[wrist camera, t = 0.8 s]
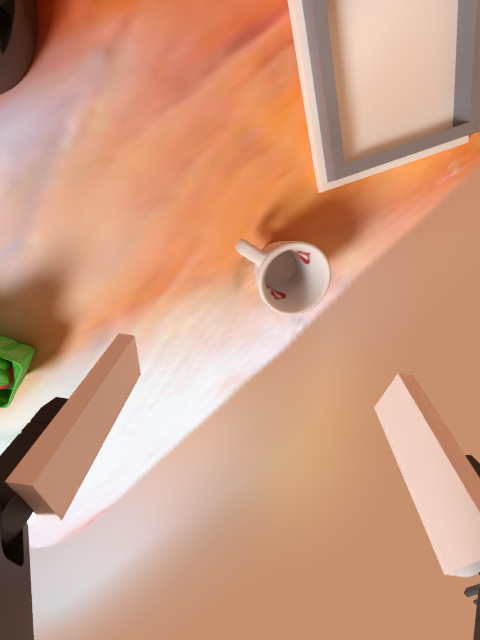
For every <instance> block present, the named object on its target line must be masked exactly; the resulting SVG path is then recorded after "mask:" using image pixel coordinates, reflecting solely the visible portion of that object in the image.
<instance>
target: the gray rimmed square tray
mask: <svg viewBox="0 0 480 640" xmlns="http://www.w3.org/2000/svg"><path fill="white" fill-rule="evenodd" d="M288 6H289V12H290V19H291V25H292V31H293V38H294V44H295V50H296V57H297V63H298V69H299V76H300V82H301V88H302V95H303V101H304V107H305V114H306V120H307V126H308V132H309V139H310V145H311V151H312V158H313V164H314V170H315V177H316V183H317V189H318V193H320V192H324V191H327V190H330V189H333V188H336V187H339V186H342V185H345V184H348V183H350V182H353V181H356V180H359V179H362V178H365V177H368V176H371V175H374V174H377V173H380V172H383V171H386V170H388V169H391V168H394V167H397V166H400V165H403V164H406V163H409V162H412V161H415V160H418V159H421V158H424V157H427V156H429V155H432V154H435V153H438V152H441V151H444V150H447V149H450V148H453V147H456V146H459V145H462V144H465V143H467V142H468V140H469V135H470V134H473V133H476V132H479V129H480V0H288Z"/></svg>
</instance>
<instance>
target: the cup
mask: <svg viewBox="0 0 480 640" xmlns="http://www.w3.org/2000/svg"><path fill="white" fill-rule="evenodd" d="M236 250H237V251H238V252H239V253H240V254H242V255H243V256H245V257H246V258H248V259H249V260H251V261H252V262H254V263H255V264H254V275H255V279H256V283H257V286H258V290H259V293H260V295H261V298H262V299H263V301H264V302H265V304H266V305H267V306H268V307H270V308H271V309H272V310H274V311H276V312H278V313H281V314H285V315H296V314H301V313H304V312H306V311H308V310H310V309H312V308H313V307H315V306H316V305H317V304H318V303H319V302H320V301H321V300H322V299H323V297H324V296H325V294H326V292H327V290H328V288H329V285H330V281H331V267H330V263H329V261H328V259H327V257H326V255H325V254H324V253H323V251H322V250H321V249H319V248H318V247H317V246H315V245H313V244H311V243H308V242H304V241H278V242H274V243H271V244H269V245H267V246H266V247H265V248H263V249H262V250H260V249H258V248H257V247H255V246H254V245H252V244H250V243H249V242H247V241H246V240H244V239H240V240H239V241H238V243H237V245H236Z"/></svg>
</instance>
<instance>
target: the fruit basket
mask: <svg viewBox="0 0 480 640" xmlns="http://www.w3.org/2000/svg"><path fill="white" fill-rule="evenodd" d="M34 352H35V348H34V347H31V346H29V345H26V344H22V343H19V342H17V341H16V340H13V339H11V338H8V337H5V336H1V335H0V408H6V407H8V406H9V405H10V403H11V402H12V400H13V398H14V395H15V393H16V391H17V389H18V388H19V386H20V384H21V383H22V381H23V379H24V378H25V376H26V373H27V372H26V371H27V370H28V368H29V366H30V363H31V361H32V358H33V357H32V355H33V354H34Z"/></svg>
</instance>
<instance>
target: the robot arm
mask: <svg viewBox="0 0 480 640" xmlns="http://www.w3.org/2000/svg"><path fill="white" fill-rule="evenodd" d="M36 36H37V15H36V6H35V0H0V94H2V93H4V92H6V91H7V90H9V89H10V88H12V87H13V86H14V85H15V84H16V83H17V82H18V81H19V80H20V79H21V78H22V77H23V75H24V74H25V72H26V70H27V69H28V67H29V65H30V62H31V60H32V57H33V53H34V49H35V44H36ZM140 374H141V373H140V367H139V361H138V354H137V348H136V342H135V336H133V335H126V334H118V336H117V337H116V338H115V340H114V341H113V342H112V343H111V345H110V346H109V347H108V349H107V350H106V351H105V352H104V354H103V355H102V356H101V358H100V359H99V360H98V362H97V363H96V364H95V365H94V367H93V368H92V369H91V371H90V372H89V373H88V375H87V376H86V377H85V378H84V380H83V381H82V382H81V384H80V385H79V386H78V387H77V389H76V390H75V391H74V393H73V394H72V395H71V397H70V398H69V399H66V398H59V397H55V398H54V399H53V400H51V401H50V402H48V403H47V404H46V405H44V406H43V407H41V409H40V410H39V411H38V412H37V413H36V414H35V416H34V417H33V418H32V419H31V421H30V423H28V424H27V425H26V426H25V427H24V429H23V430H22V431H21V433H20V434H18V436H17V437H16V438H15V439H14V440H13V441H12V443H11V444H10V445H9V446H8V447H7V449H6V450H5V451H4V452H3V453H2V454H1V456H0V640H34V635H33V614H32V595H31V578H30V577H31V576H30V556H29V537H28V525H27V520H28V519H29V517H30V516H31V514H32V512H33V511H34V513H35V514H36V515H37V516H38V517H40V518H47V519H54V520H61V521H62V519H63V517H64V515H65V513H66V512H67V510H68V508H69V506H70V504H71V502H72V500H73V499H74V497H75V495H76V493H77V491H78V489H79V487H80V486H81V484H82V482H83V480H84V478H85V476H86V475H87V473H88V471H89V469H90V467H91V465H92V463H93V462H94V460H95V458H96V456H97V454H98V452H99V450H100V449H101V447H102V445H103V443H104V441H105V439H106V437H107V436H108V434H109V432H110V430H111V428H112V426H113V424H114V423H115V421H116V419H117V417H118V415H119V413H120V412H121V410H122V408H123V406H124V404H125V402H126V400H127V399H128V397H129V395H130V393H131V391H132V389H133V387H134V386H135V384H136V382H137V380H138V378H139V376H140ZM375 410H376V413H377V415H378V418H379V420H380V422H381V425H382V427H383V429H384V432H385V434H386V437H387V439H388V441H389V444H390V446H391V448H392V451H393V453H394V455H395V458H396V460H397V463H398V465H399V467H400V470H401V472H402V475H403V477H404V479H405V482H406V484H407V487H408V489H409V491H410V494H411V496H412V498H413V501H414V503H415V506H416V508H417V510H418V513H419V515H420V518H421V520H422V522H423V524H424V527H425V529H426V532H427V534H428V536H429V539H430V541H431V544H432V546H433V548H434V551H435V553H436V556H437V558H438V560H439V563H440V565H441V568H442V570H443V572H444V574H447V575H453V576H461V577H468V576H472V575H475V574H478V573H479V574H480V463H479V462H478V461H477V460H476V459H474V457H473V456H471V455H464V453H463V452H462V450H461V449H460V447H459V445H458V444H457V442H456V441H455V439H454V438H453V436H452V435H451V433H450V432H449V430H448V428H447V427H446V425H445V424H444V422H443V421H442V419H441V418H440V416H439V414H438V413H437V412H436V410H435V408H434V407H433V405H432V404H431V402H430V401H429V399H428V398H427V396H426V394H425V393H424V391H423V390H422V388H421V387H420V385H419V384H418V382H417V381H416V379H415V378H414V376H412V375H405V374H397V376H396V377H395V379H394V380H393V381H392V383H391V384H390V386H389V387H388V389H387V390H386V391H385V393H384V394H383V396H382V397H381V399H380V400H379V402H378V403H377V404H376V406H375ZM464 594H465V595H466V596H467V597H469V596H473V595H477V594H478V599H476V600H474V601H473V602H474V603H475V604H476V605H477V609H476V619H475V630H474V640H480V584H477V585H474V586H471V587H468V588H466V590H465V592H464Z"/></svg>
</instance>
